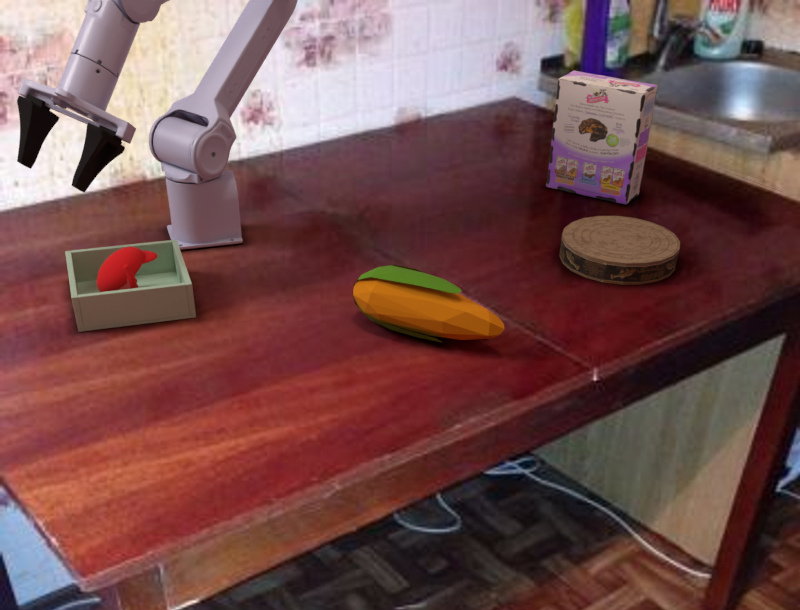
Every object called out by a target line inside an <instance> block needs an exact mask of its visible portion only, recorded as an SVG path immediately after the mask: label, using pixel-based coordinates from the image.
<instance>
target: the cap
mask: <svg viewBox="0 0 800 610" xmlns="http://www.w3.org/2000/svg"><path fill="white" fill-rule="evenodd" d="M157 257H158V255H157V254H156V253H154V252H152V251H144V250H140V249H139V248H136V247H125V248H122V249H119V250H117V251H116V252H114V253H113V254H111V255H110V256H109V257H108V258H107V259H106V260H105V261H104V263H103V264H102V266H101V268H100V270H99V272H98V276H97V287H98V290H99V291H100V292H106V291H115V290H124V289H132V288H138V285H137V279H136V278H135V276H134V275H135V274H136V273H137V272H138V270H139V269H140V267H141V265H142V264H144V263H148V262H151V261H153V260H155V259H156V258H157Z"/></svg>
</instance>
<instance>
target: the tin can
mask: <svg viewBox="0 0 800 610" xmlns="http://www.w3.org/2000/svg"><path fill="white" fill-rule="evenodd" d="M560 239H561V240H560V246H559V255H558V257H559V258H560V261H561V263H562V265H564V266H565V267H566V268H567V269H569V270H570V271H571V272H573V273H575V274H577V275H579V276H581V277H583V278H585V279H589V280H592V281H596V282H600V283H603V284H613V285H619V286H626V285H627V286H632V285H633V286H635V285H637V286H638V285H639V286H641V285H647V284H652V283H657V282H660V281H662V280H665V279H667V278H669V277H670V276H672V274H673V273H674V272H675V271H676V268H677V262H678V258H679V253H680V250H681V249H680V248H681V241H680V240H679V238H678V236H677V235H676V234H675V233H674V232H672V231H671V230H669V229H668V228H666V227H665V226H662V225H659V224H657V223H654V222H652V221H649V220H645V219H641V218H637V217H632V216H631V217H630V216H622V215H596V216H589V217H588V216H587V217H583V218H580V219H577V220H573V221H572V222H570V223H568V224H567V225H566V226H565V227H564V228H563V230H562V233H561V238H560Z"/></svg>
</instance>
